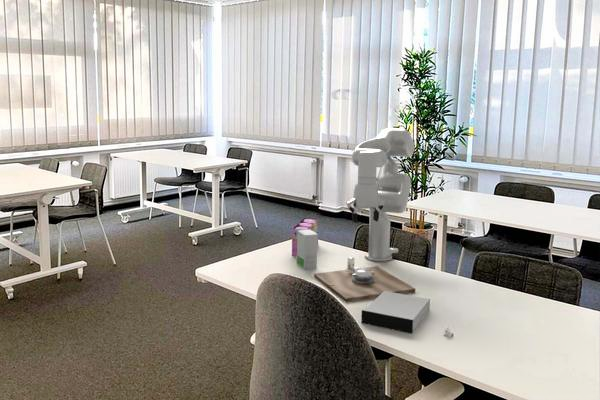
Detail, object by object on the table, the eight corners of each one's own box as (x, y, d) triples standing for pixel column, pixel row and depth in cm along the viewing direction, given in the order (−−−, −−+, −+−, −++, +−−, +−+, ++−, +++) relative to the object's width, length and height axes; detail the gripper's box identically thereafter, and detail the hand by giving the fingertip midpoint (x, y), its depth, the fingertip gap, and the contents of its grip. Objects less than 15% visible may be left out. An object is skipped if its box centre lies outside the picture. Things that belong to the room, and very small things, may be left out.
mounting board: (377, 269, 250) (377, 263, 250) (415, 292, 223) (415, 286, 222) (314, 277, 239) (314, 271, 239) (345, 302, 212) (345, 295, 212)
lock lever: (377, 279, 229) (378, 266, 228) (356, 282, 226) (356, 269, 225) (359, 267, 244) (359, 255, 243) (339, 269, 240) (339, 258, 239)
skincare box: (296, 264, 256) (296, 230, 253) (309, 262, 259) (310, 228, 256) (304, 269, 249) (304, 234, 246) (317, 267, 252) (318, 233, 249)
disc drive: (360, 324, 194) (361, 310, 193) (383, 302, 214) (383, 289, 213) (411, 335, 186) (412, 320, 185) (429, 311, 206) (430, 298, 205)
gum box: (303, 243, 291) (304, 217, 288) (319, 244, 289) (319, 218, 286) (291, 256, 268) (291, 228, 265) (307, 258, 266) (308, 229, 263)
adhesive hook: (446, 334, 187) (447, 324, 186) (454, 336, 185) (454, 327, 185) (442, 337, 185) (443, 327, 184) (449, 339, 183) (450, 330, 183)
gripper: (381, 178, 243) (379, 218, 246) (343, 180, 237) (342, 220, 240) (389, 181, 236) (388, 222, 239) (351, 183, 230) (350, 224, 233)
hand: (365, 221), depth 239 cm, fingers open, 9 cm apart
